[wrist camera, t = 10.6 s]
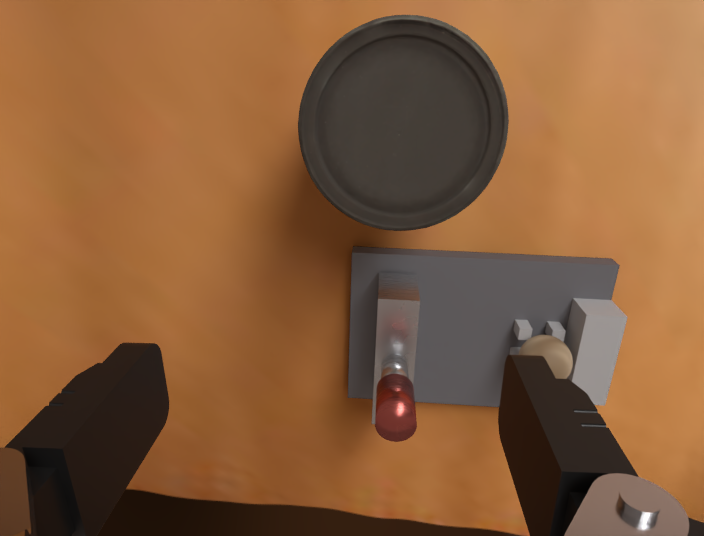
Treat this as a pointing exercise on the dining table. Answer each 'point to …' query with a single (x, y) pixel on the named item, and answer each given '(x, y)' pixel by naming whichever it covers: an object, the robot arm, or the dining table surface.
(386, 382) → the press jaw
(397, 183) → the coffee can
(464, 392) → the nutcracker bench
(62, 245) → the dining table surface
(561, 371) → the tan ball
